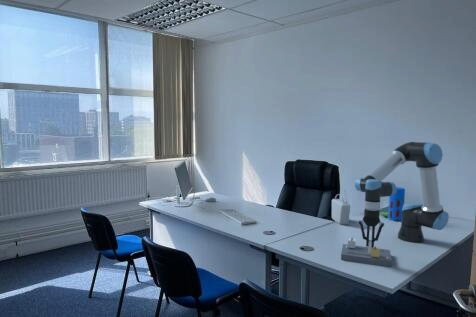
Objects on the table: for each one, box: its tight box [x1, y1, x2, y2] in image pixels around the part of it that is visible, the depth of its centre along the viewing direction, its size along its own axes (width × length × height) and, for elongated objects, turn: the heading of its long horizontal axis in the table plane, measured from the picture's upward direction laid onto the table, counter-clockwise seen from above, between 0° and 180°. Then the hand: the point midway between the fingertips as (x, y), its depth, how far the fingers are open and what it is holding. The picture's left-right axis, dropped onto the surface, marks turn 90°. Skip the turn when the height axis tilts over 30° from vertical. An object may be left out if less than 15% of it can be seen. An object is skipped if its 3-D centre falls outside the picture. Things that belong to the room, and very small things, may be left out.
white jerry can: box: [331, 189, 351, 226], centre depth 264 cm, size 22×8×25 cm, turn 4°
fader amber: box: [371, 245, 381, 258], centre depth 185 cm, size 4×5×4 cm
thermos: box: [387, 186, 406, 222], centre depth 274 cm, size 11×11×25 cm
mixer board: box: [340, 243, 393, 268], centre depth 191 cm, size 25×18×3 cm
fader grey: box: [347, 237, 357, 248], centre depth 198 cm, size 4×5×4 cm
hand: (369, 252), depth 186 cm, fingers closed
